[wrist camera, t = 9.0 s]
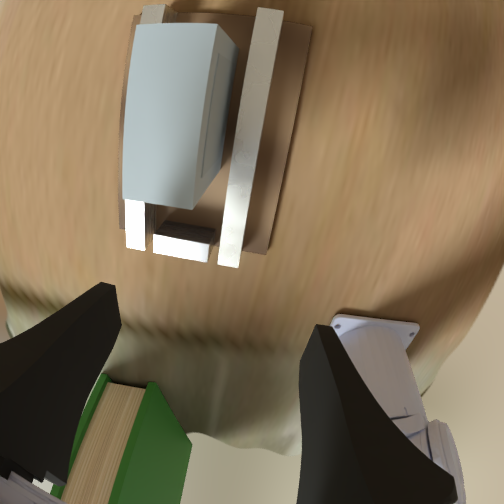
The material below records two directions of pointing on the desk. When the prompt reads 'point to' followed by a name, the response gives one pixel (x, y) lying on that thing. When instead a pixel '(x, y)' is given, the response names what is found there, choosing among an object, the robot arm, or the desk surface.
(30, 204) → the desk surface
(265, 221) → the track floor
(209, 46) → the pale blue rectangular block
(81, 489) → the hardback book
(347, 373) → the robot arm
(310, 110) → the desk surface
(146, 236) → the track rails
